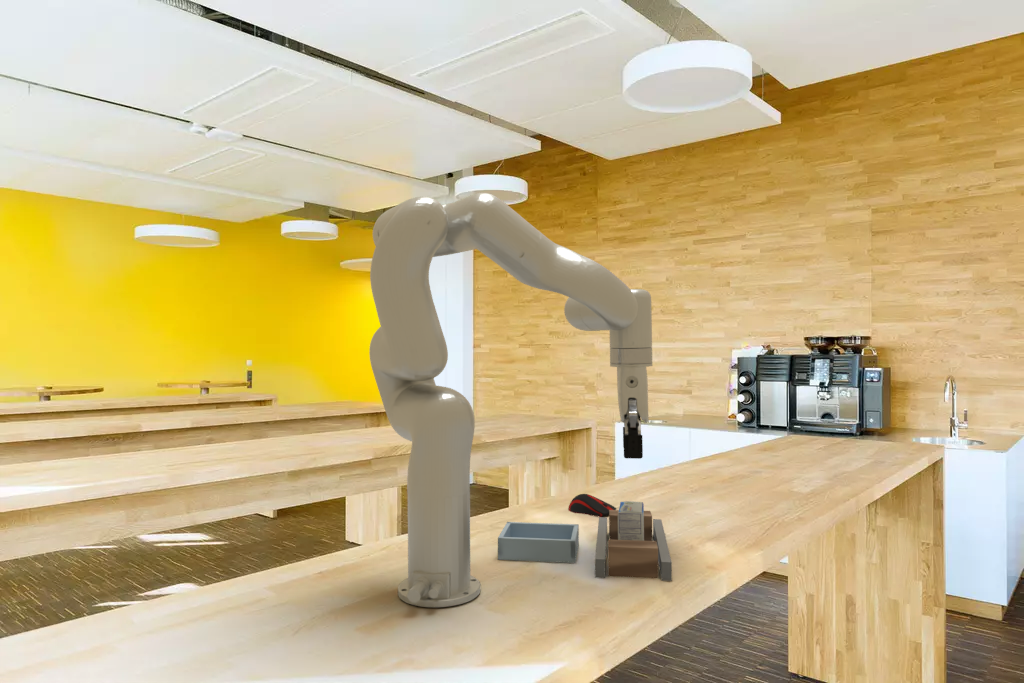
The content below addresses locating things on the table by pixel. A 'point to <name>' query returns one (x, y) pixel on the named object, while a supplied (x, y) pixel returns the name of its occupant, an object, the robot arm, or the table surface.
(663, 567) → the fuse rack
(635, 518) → the medicine box
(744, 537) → the table surface
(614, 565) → the near walnut block
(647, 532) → the far walnut block
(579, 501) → the computer mouse
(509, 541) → the tray
